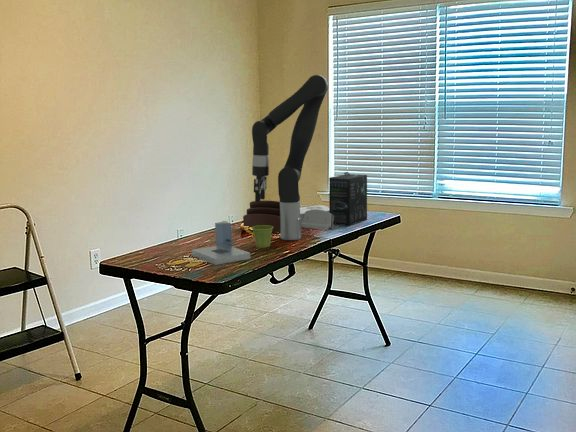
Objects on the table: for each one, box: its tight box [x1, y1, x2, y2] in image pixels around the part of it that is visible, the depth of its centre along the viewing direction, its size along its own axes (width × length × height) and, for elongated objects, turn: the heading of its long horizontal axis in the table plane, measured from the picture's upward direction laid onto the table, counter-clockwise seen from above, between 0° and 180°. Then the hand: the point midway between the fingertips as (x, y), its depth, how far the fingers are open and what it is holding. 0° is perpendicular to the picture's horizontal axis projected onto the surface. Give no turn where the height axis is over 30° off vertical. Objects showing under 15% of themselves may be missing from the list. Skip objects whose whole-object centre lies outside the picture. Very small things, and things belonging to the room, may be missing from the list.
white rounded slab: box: [300, 204, 329, 223], centre depth 344 cm, size 19×33×5 cm, turn 115°
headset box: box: [328, 171, 368, 227], centre depth 329 cm, size 22×12×26 cm, turn 149°
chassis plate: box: [191, 245, 251, 266], centre depth 259 cm, size 20×16×2 cm
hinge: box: [301, 210, 334, 231], centre depth 318 cm, size 17×5×10 cm, turn 57°
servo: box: [214, 220, 234, 247], centre depth 273 cm, size 10×4×12 cm, turn 35°
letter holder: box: [242, 200, 280, 233], centre depth 314 cm, size 10×20×14 cm, turn 71°
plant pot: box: [252, 225, 273, 249], centre depth 276 cm, size 9×9×9 cm
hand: (260, 200), depth 292 cm, fingers open, 8 cm apart
